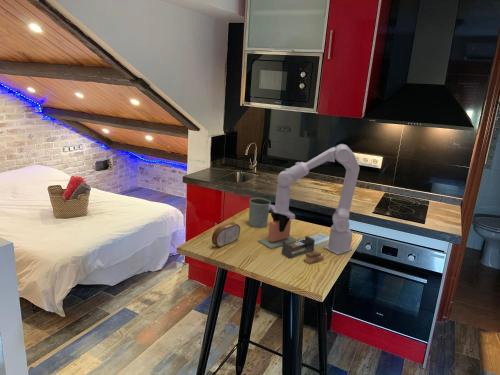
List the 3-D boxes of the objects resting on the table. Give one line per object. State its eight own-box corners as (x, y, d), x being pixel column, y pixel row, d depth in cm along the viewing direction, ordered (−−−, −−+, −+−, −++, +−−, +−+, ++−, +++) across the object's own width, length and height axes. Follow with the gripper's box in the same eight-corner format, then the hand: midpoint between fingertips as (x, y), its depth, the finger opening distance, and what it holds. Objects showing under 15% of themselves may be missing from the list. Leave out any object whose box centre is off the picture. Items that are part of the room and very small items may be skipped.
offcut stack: (317, 257, 148) (318, 249, 147) (323, 260, 146) (324, 252, 145) (303, 262, 144) (304, 253, 143) (309, 265, 141) (310, 256, 140)
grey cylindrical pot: (245, 220, 181) (247, 197, 178) (265, 220, 184) (267, 197, 181) (250, 228, 172) (252, 204, 169) (271, 228, 174) (273, 204, 171)
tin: (235, 237, 161) (236, 219, 158) (240, 240, 159) (242, 221, 157) (210, 247, 149) (211, 228, 147) (216, 250, 147) (217, 230, 145)
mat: (285, 234, 168) (285, 233, 168) (298, 241, 162) (298, 240, 161) (257, 241, 158) (257, 240, 158) (270, 249, 152) (270, 247, 152)
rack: (305, 246, 157) (306, 235, 155) (313, 251, 153) (315, 240, 152) (281, 253, 149) (282, 242, 147) (289, 258, 145) (291, 246, 144)
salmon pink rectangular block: (285, 235, 164) (287, 218, 161) (289, 237, 162) (291, 220, 160) (267, 239, 158) (269, 222, 155) (271, 241, 156) (273, 224, 154)
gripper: (264, 196, 158) (261, 225, 162) (287, 206, 147) (284, 237, 151) (276, 194, 162) (273, 223, 166) (300, 203, 151) (296, 234, 155)
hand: (279, 230), depth 158 cm, fingers closed on salmon pink rectangular block, 2 cm apart
